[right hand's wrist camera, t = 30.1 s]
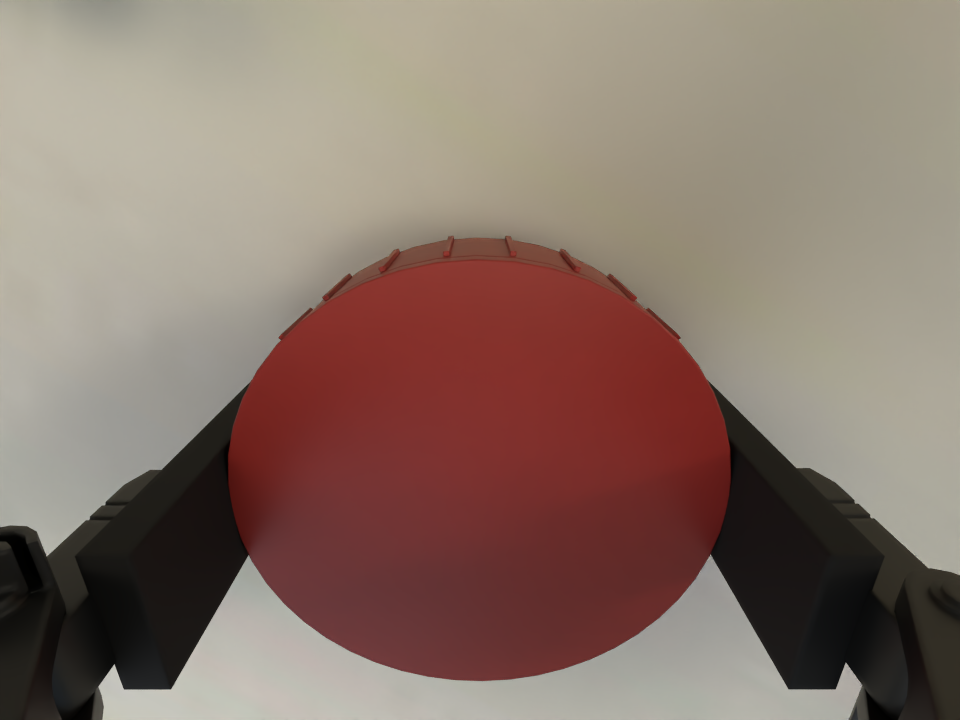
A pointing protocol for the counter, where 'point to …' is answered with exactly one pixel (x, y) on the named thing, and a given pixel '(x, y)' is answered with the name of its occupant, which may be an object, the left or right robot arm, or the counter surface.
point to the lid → (479, 463)
